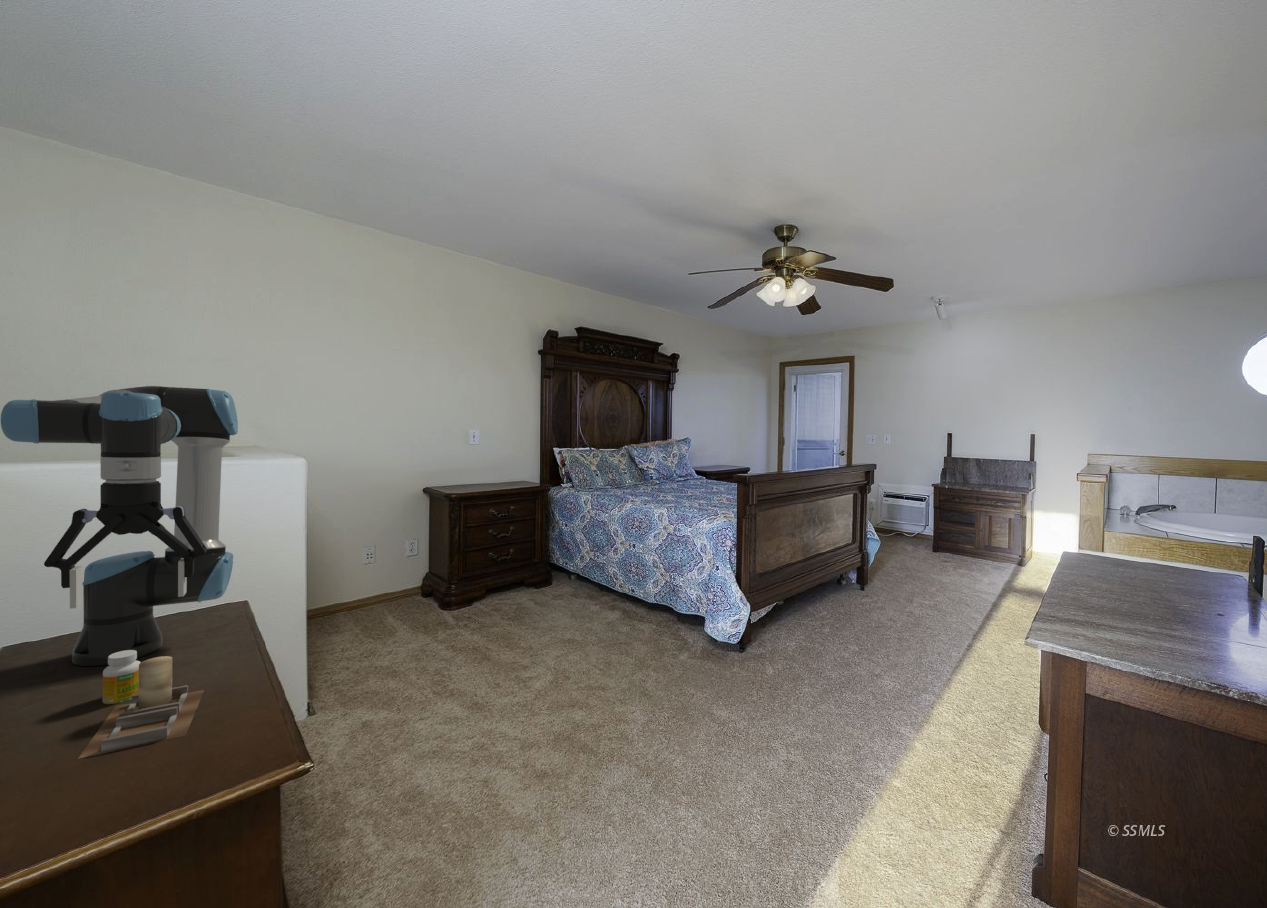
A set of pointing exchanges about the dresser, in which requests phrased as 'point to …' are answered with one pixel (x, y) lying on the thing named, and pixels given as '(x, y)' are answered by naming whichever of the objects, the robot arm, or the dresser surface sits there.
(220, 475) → the robot arm
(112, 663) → the supplement bottle
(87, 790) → the dresser surface
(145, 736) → the board
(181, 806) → the dresser surface
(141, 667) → the beech dowel
